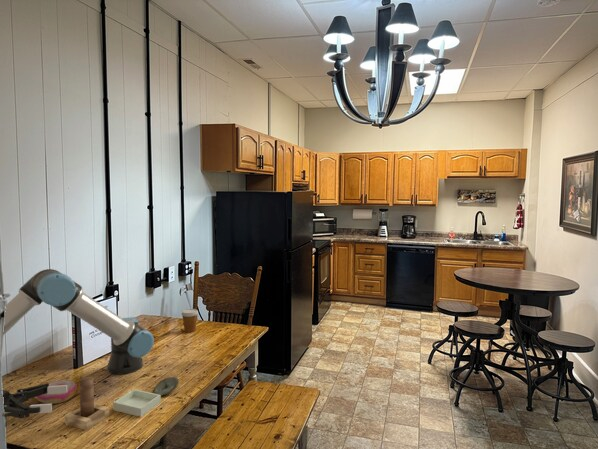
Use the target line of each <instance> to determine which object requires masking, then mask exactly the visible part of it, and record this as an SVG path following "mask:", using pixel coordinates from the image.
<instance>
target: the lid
mask: <svg viewBox="0 0 598 449" xmlns="http://www.w3.org/2000/svg"><path fill="white" fill-rule="evenodd" d="M179 382H180V381H179V379H178V378H177V377H175V376H170V377H165V378H164V379H162V380H160V381H159V382H158V383H157V384H156V385H155V386H154V388H153V393H154V394H158V395H161V397H162V396H163V397H164V396H165V395H168V394H170V393H172V392H174V390H176V389H177V387H178V385H179Z"/></svg>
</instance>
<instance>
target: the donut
mask: <svg viewBox="0 0 598 449" xmlns="http://www.w3.org/2000/svg"><path fill="white" fill-rule="evenodd" d="M48 383H49V382H48ZM60 385H67V393H59V394H48V393H46V394H43V395H40V396H37V399H38V401H39V402H41V404H52V405H56V404H61V403H64V402H66V401H68V400H70V399H71V398H73V397H74V396H75V394H77V390H78V387H77V384H76V383H75V382H74V381H72V380H68V379H67V380H65V379H63V380H55V381H53V382H50V383H49V386H60Z"/></svg>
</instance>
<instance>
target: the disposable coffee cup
mask: <svg viewBox="0 0 598 449" xmlns="http://www.w3.org/2000/svg"><path fill="white" fill-rule="evenodd" d="M198 315H199V311H198V310H197V309H196V308H188V309H184V310H182V312H181V316H182V323H183V329H184V332H185V333H188V334H189V333H190V334H191V333H194V332H196V330H197V322H198Z"/></svg>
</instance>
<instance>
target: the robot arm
mask: <svg viewBox="0 0 598 449" xmlns="http://www.w3.org/2000/svg"><path fill="white" fill-rule="evenodd" d="M42 303H44V304H46V305H49V306H51V307H53V308H54V309H56V310H58V311H59V312H65V311H68V312H70V313H71V314H72V315H74V316H75V317H77V318H79V319H80V320H82V321H84V323H87V324H88V325H90V326H92V327H93V328H94V329H96V330H98V331H99V332H101V333H103V334H105V335H106V336H107V337H109V338H110V344H111V345H110V348H111V352H110V357H109V361H108V363H107V372H108V373H110V374H114V375H125V374H130V373H135V372H136V371H139V370H140V369H142V367H143V366H144V362H143V358H142V357H145V356H146V355H147V354H149V353H150V352H151V350H152V348H153V347H154V345H155V344H154V343H155V338H154V335H153V333H152V332H150V331H149V330H147V329H145V328H143V327H142V326H141V325H139V320H138V318H137V317H132V316H131V317H130V316H129V317H123V318H122V317H120V316H119V315H118V314H116V313H114V312H113V311H112V310H110V309H109V308H107V306H104V305H102V304H101V303H100V302H98V300H96V299H94V298H92V297H91V296H89V295H87V293H85V292H83V286H82V285H81V284H79V283H77V282H76V281H75V280H73V279H72V278H71V277H70V276H68V275H66V274H65V273H62V272H60V271H58V270H57V269H53V268H50V269H49V268H46V269H42V270H39V271H38V272H37V273H35V274H33V276H31V277H30V278H29V279H28V280H27V281H26V282H24V284H23V285H22V286H21V287H20V288H19V289H18V293H17V294H16V295H15V296H14V297H13V298H12V299H10V301H9V302H8V303H6V304H5V306H6V308H7V310H6V312H5V325H4V332H3V336H5V334H6V333H8V332H9V331H10V330H11V329H12V328H13V327H14V326H15V325H17V323H19V321H20V320H22V318H24V316H25V315H27V314H28V313H29V312H30V311H31V310H32V309H33V308H34V307H35V306H39V305H41V304H42ZM2 391H3V397H4V409H5V412H12V413H11V414H10V415H6V416H7V417H12V418H16V419H24V418H25V419H26V418H29V417H30V415H34V414H47V413H49V414H50V413H52V412H53V404H45V403H40V404H31V405H29V406H28V405H26V404H25V403H26V402H28V401H29V400H31V399H33V398H36V397H37V396H40V395H43V394H46V393H48V394H59V393H67V385H60V386H49V382H47V383H44V384H39V385H34V386H29V387H25V388H18V389H16V393H10V391H9V390H6V389H5V390H4V389H3V390H2ZM37 398H38V397H37Z"/></svg>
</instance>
